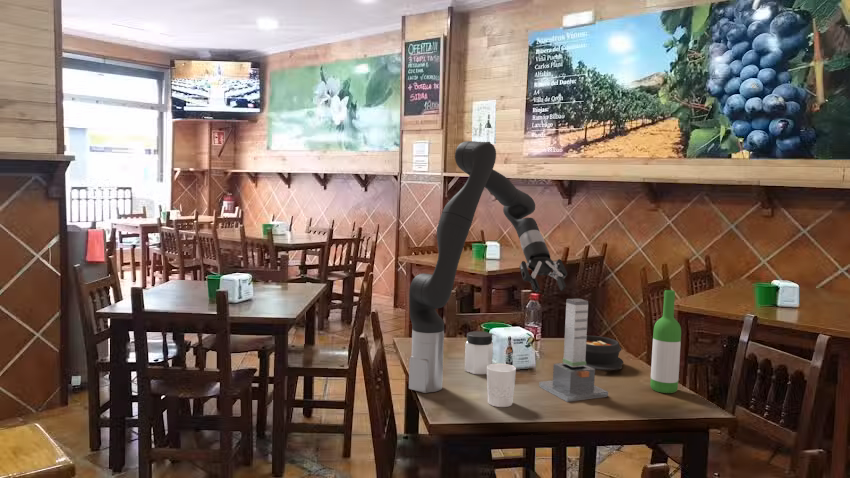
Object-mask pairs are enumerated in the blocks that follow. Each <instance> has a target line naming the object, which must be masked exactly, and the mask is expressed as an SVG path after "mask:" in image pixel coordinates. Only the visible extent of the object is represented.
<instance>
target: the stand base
mask: <svg viewBox="0 0 850 478" xmlns="http://www.w3.org/2000/svg"><path fill="white" fill-rule="evenodd" d="M552 369H553V370H552V371H553V372H552V373H553V375H552V380H551V379H550V380H545V381H539V382H538V383H539V384H538V385H539V386H538V387H539V388H541V389H542V390H543V391H544V390H545V391H546V392H547V393H550V394H552V395H553V396H556V397H558V398H559V399H561V400H563V401H565V402H567V403H571V402H577V401H585V400H592V399H594V400H595V399H601V398H608V397H609V391H608V390H607V389H606V390H605V389H603V388H601V387H600V386H597V385H595V378H596V370H595V369H593V368H591V367H589V366H586V365H585V366H581V367H571V366H568V365H566V364H564V363H563V362H561V363H560V362H559V363H558V362H557V363H553V368H552Z"/></svg>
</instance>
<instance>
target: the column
mask: <svg viewBox="0 0 850 478" xmlns="http://www.w3.org/2000/svg"><path fill="white" fill-rule="evenodd" d="M565 305H566V306H565V321H564V322H565V324H564V343H563V344H564V345H563V358H562V363H564V364H566V365H568V366H571V367H581V366H585V365H586V361H585V358H586V338H587V336H588V335H587V334H588V333H587V332H588V318H589V317H588V316H589V300H586V299H582V298H567V299H566V303H565Z"/></svg>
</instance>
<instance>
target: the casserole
mask: <svg viewBox="0 0 850 478" xmlns="http://www.w3.org/2000/svg"><path fill="white" fill-rule="evenodd" d="M620 352H622V347H621V346H620V343H619V341H618V340H616V339H613V338H610V337H605V336H600V335H599V336H598V335H587V338H586V358H585V361H586V366H589V367H591V368H593V369H595V371H597V370H598V371H619V370H621V369H623V364H624V360H623V359H622V358H620V357H619V355H620Z"/></svg>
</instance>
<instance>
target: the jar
mask: <svg viewBox="0 0 850 478" xmlns="http://www.w3.org/2000/svg"><path fill="white" fill-rule="evenodd" d="M464 349H465V350H464V351H465V352H464V372H467V373H469V372H470V373H469V374H472V375H487V366H488V365H490V364H493V354H494V353H493V352H494V341H493V334H492V333H490V332H488V331H479V330H478V331H477V330H476V331H475V330H474V331H469V332H467V333H466V342H465V346H464Z"/></svg>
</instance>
